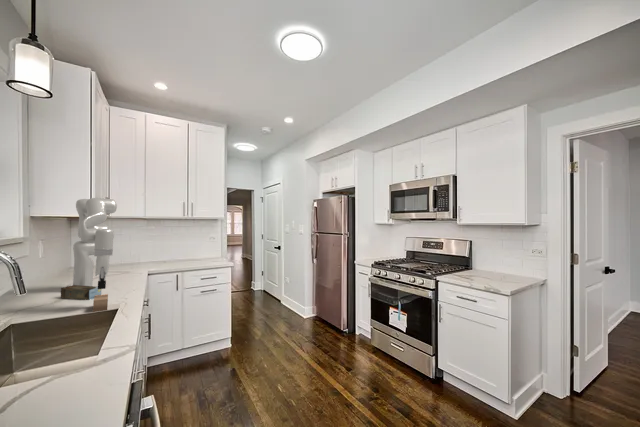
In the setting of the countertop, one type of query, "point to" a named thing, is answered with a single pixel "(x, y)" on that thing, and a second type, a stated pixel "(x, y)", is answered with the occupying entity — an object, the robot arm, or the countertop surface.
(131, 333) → the countertop surface
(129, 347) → the countertop surface
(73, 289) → the beverage carton
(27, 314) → the countertop surface
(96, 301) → the wooden block
